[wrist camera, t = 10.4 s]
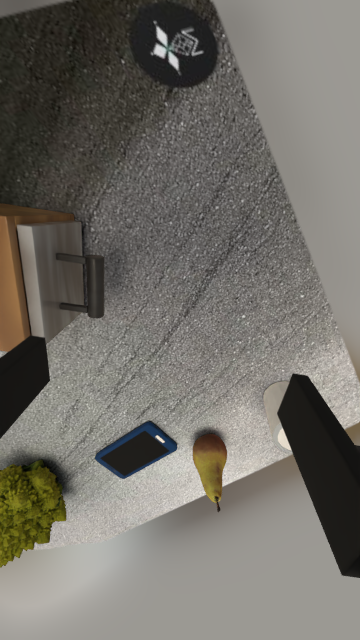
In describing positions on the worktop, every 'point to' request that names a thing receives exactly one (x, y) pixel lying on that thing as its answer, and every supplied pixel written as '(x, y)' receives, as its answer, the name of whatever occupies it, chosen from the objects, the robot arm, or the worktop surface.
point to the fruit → (210, 464)
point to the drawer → (58, 276)
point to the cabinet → (16, 271)
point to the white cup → (272, 404)
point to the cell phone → (136, 450)
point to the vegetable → (27, 508)
